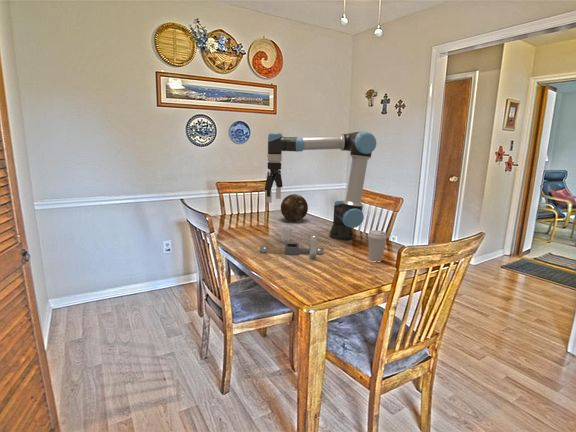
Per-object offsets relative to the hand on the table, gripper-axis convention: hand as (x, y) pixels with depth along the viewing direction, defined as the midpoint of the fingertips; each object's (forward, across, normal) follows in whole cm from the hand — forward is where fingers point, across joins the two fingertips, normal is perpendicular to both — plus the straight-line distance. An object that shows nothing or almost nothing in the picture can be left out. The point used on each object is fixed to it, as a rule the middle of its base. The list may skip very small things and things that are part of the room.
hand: (273, 200), depth 187 cm
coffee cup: (+26, +2, +58) cm, 63 cm away
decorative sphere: (+26, -59, -7) cm, 64 cm away
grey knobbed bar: (+26, +9, +15) cm, 31 cm away
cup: (+26, -8, +3) cm, 27 cm away
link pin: (+26, +13, +27) cm, 40 cm away
